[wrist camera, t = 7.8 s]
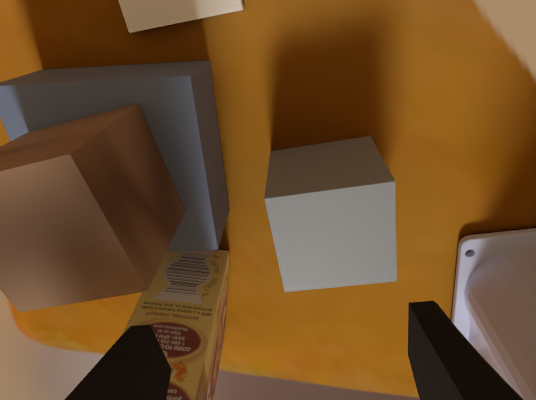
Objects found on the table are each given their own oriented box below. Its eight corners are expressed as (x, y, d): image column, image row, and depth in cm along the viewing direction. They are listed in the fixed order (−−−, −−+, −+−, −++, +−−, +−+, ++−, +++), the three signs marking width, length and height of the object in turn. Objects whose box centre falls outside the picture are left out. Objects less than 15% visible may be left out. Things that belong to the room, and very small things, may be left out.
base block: (230, 207, 21) (217, 250, 17) (96, 210, 21) (58, 252, 18) (211, 59, 17) (190, 75, 13) (47, 68, 17) (-13, 86, 14)
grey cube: (374, 219, 20) (396, 281, 16) (286, 230, 21) (284, 292, 17) (370, 135, 18) (395, 181, 14) (270, 150, 19) (264, 198, 14)
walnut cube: (185, 210, 16) (147, 291, 12) (87, 230, 17) (19, 312, 13) (138, 102, 14) (69, 154, 10) (27, 132, 15) (-81, 191, 10)
